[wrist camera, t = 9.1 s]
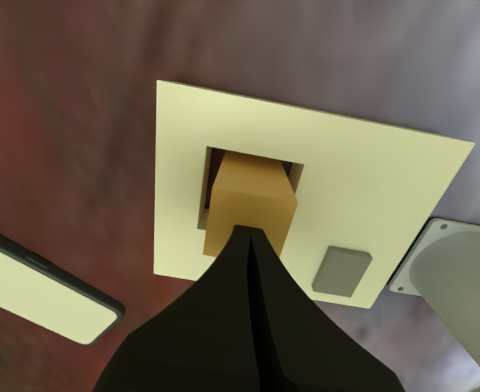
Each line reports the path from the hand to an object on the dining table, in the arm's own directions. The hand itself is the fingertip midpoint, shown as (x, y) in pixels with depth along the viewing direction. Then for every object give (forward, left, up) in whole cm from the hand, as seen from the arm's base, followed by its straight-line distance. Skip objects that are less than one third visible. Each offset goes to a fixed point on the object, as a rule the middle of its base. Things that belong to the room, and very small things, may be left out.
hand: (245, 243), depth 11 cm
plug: (0, 0, -8) cm, 8 cm away
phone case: (+19, +16, -8) cm, 26 cm away
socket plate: (-3, +1, -8) cm, 8 cm away
